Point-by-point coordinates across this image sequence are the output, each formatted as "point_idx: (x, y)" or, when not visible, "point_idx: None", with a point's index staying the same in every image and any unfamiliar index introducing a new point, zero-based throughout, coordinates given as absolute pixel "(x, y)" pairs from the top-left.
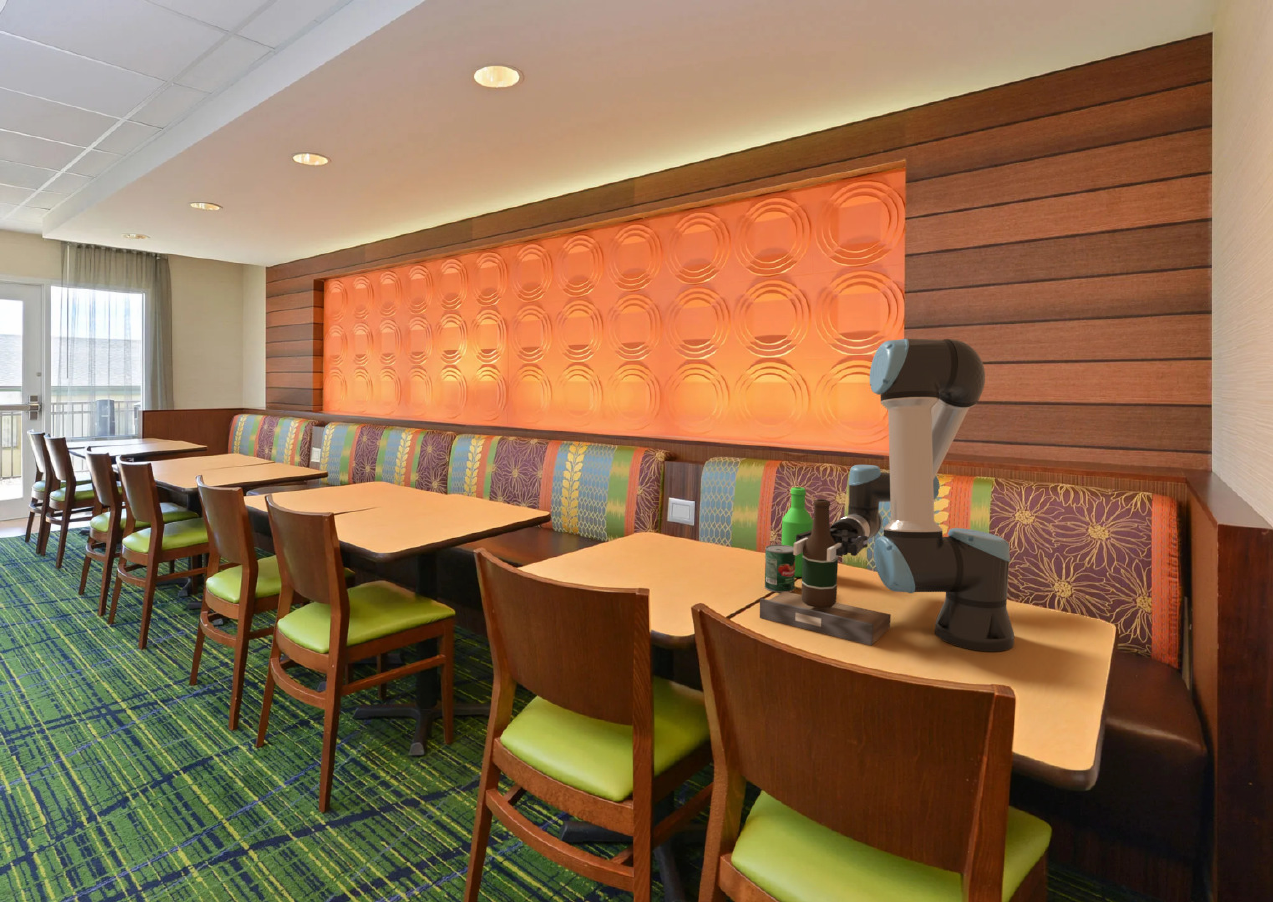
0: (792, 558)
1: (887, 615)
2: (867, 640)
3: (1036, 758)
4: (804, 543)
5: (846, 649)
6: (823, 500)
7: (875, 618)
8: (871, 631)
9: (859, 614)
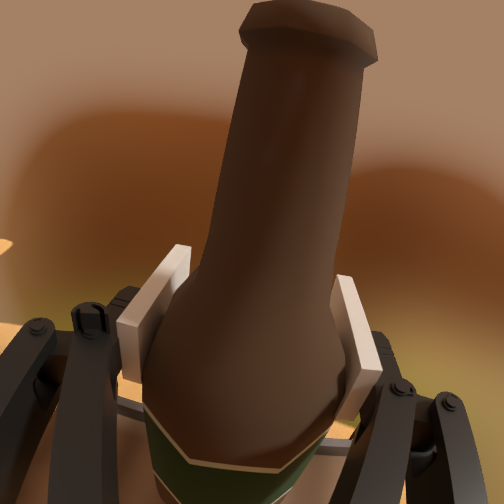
0: None
1: None
2: None
3: (9, 241)
4: (344, 343)
5: (127, 384)
6: (315, 12)
7: (46, 467)
8: None
9: None
